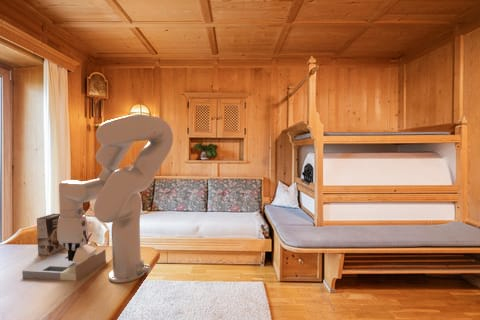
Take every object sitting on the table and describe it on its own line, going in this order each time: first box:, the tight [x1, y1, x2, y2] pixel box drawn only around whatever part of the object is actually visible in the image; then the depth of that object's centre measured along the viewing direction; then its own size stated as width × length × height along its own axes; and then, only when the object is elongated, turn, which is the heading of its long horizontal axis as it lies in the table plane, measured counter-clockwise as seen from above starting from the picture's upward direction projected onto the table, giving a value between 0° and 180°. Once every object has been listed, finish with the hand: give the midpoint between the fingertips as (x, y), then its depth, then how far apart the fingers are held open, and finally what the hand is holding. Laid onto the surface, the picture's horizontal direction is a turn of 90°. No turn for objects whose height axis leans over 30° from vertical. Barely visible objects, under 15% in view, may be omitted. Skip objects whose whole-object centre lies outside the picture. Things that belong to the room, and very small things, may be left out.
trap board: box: [22, 249, 107, 281], centre depth 106 cm, size 22×16×5 cm
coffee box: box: [36, 213, 66, 256], centre depth 124 cm, size 9×6×16 cm
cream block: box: [73, 244, 97, 264], centre depth 106 cm, size 5×5×5 cm
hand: (73, 259), depth 106 cm, fingers closed
